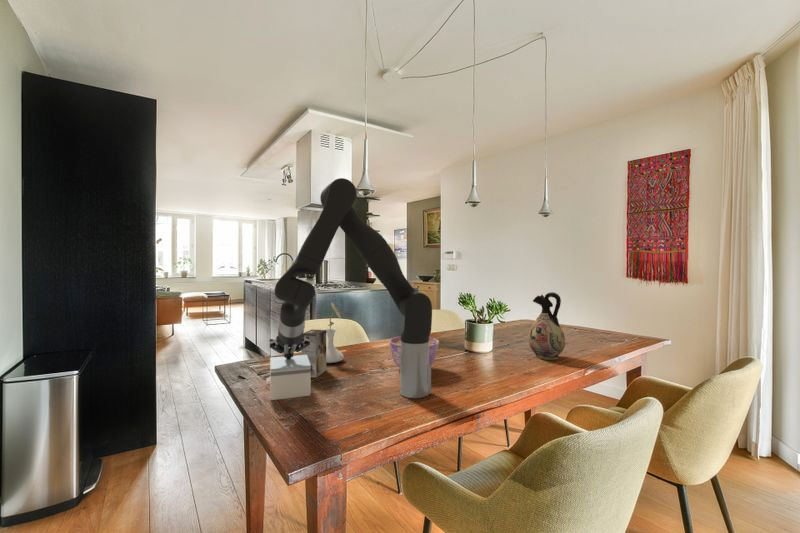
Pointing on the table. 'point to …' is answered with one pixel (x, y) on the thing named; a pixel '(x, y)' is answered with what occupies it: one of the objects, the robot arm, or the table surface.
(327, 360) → the flower in vase
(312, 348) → the coffee box
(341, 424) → the table surface
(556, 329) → the ceramic jug
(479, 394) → the table surface
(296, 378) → the crate
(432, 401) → the table surface
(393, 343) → the purple patterned bowl
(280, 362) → the lid
